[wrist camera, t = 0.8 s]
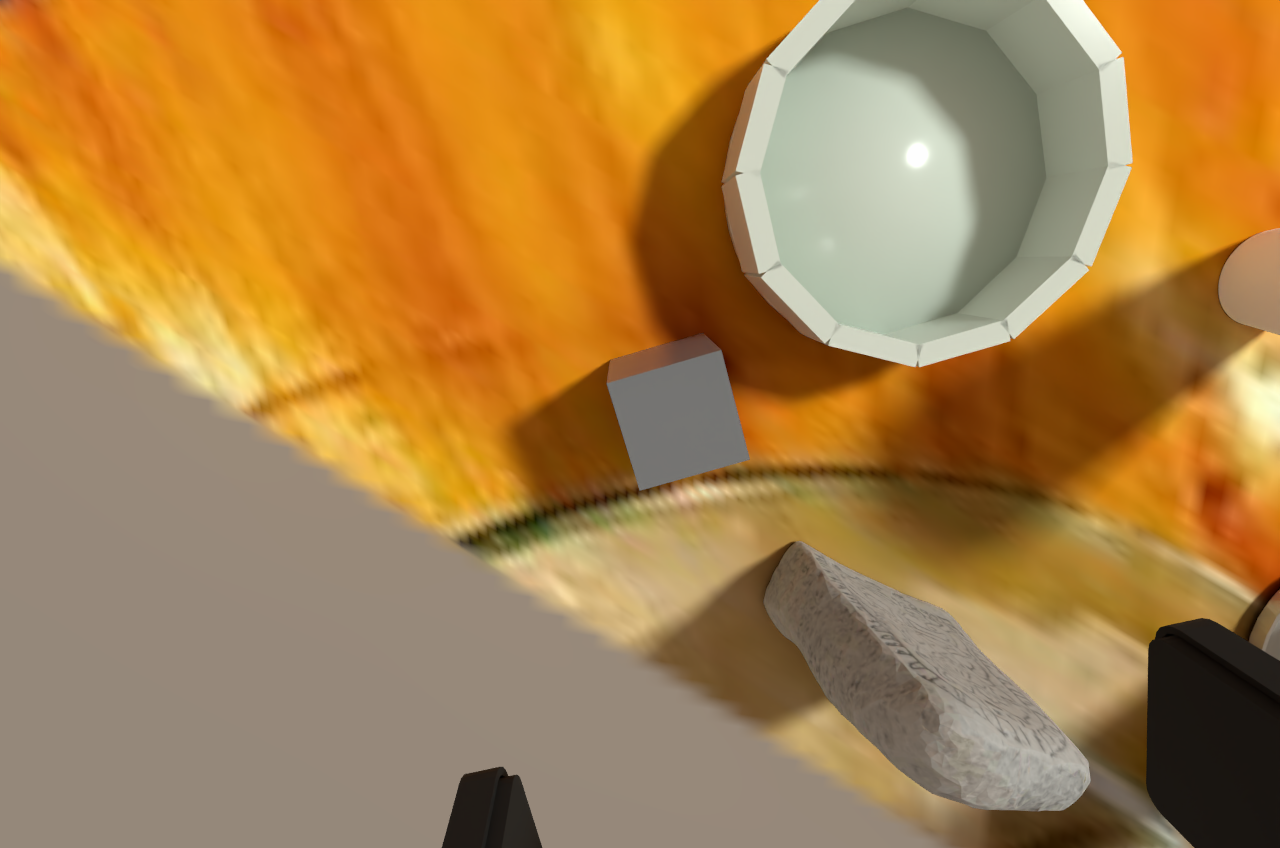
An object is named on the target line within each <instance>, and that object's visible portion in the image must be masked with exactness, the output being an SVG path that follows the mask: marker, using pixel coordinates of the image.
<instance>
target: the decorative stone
mask: <svg viewBox="0 0 1280 848" xmlns="http://www.w3.org/2000/svg"><path fill="white" fill-rule="evenodd" d="M763 603H764V606H765V609H766V611H767V613H768V615H769V617H770V619H771V620H772V622H773V623H774V625H775V626H776V628H777V629H778V630H779V631H780V632H781V633H782V634H783V635H784V637H786V638H788V639H789V640H790V641H792V642H793V643H794V644H796V646H797V647H798V648H799V650H800V651H801V653H802V654H803V656H804V658H805V660H806V662H807V664H808V666H809V668H810V670H811V672H812V673H813V675H814V677H815V678H816V680H817V682H818V683H819V685H820V687H821V689H822V690H823V692H824V694H825V696H826V697H827V698H828V699H829V701H830V702H831V703H832V704H833V705H834V706H835V707H836V708H837V709H838V711H839V712H840V713H841V714H842V715H843V716H844V717H845V718H846V719H847V720H849V721H850V722H851V723H852V724H853V725H854V726H855V727H856V728H857V729H858V731H859V732H860V733H861V734H862V735H863V736H864V737H866V738H867V739H868V740H869V741H870V742H871V743H872V744H873V745H875V746H876V747H877V748H878V749H879V750H880V751H881V752H882V754H883V755H884V756H885V757H886V758H887V759H888V760H889V761H890V762H891V763H892V764H893V765H894V766H896V767H897V768H898V769H899V770H900V771H901V772H903V773H904V774H905V775H907V776H908V777H909V778H911V779H912V780H913V781H915V782H916V783H917V784H919V785H920V786H922V787H923V788H925V789H926V790H928V791H929V792H931V793H932V794H935V795H938V796H941V797H944V798H947V799H950V800H953V801H957V802H960V803H963V804H966V805H968V806H970V807H972V808H977V809H984V810H1021V811H1044V810H1047V811H1061V810H1064V809H1066V808H1068V807H1069V806H1070V805H1072V804H1073V803H1074V802H1076V801H1077V799H1078V798H1079V797H1080V796H1081V795H1082V794H1083V792H1084V791H1085V790H1086V788H1087V787H1088V785H1089V783H1090V782H1091V780H1090V771H1089V762H1088V760H1087V759H1086V758H1085V757H1084V755H1083V754H1082V753H1081V752H1080V750H1079V749H1078V748H1077V747H1076V746H1075V745H1074V744H1073V742H1072V741H1071V740H1070V739H1069V738H1068V737H1067V736H1066V735H1065V734H1064V733H1063V731H1062V730H1061V729H1060V728H1059V727H1058V726H1057V725H1056V724H1055V723H1054V722H1053V721H1052V720H1051V719H1050V717H1049V716H1048V715H1047V714H1046V713H1045V712H1044V711H1043V710H1042V709H1041V708H1040V707H1039V706H1038V705H1037V704H1036V703H1035V701H1033V699H1032V698H1031V697H1030V696H1029V695H1028V694H1027V693H1025V692H1024V691H1023V690H1022V689H1021V688H1020V687H1019V686H1018V685H1017V684H1015V683H1014V682H1013V681H1012V680H1011V679H1010V678H1009V677H1008V676H1007V675H1006V674H1004V673H1003V672H1002V671H1001V670H1000V669H999V668H997V667H996V666H995V665H994V664H993V662H992V661H991V660H990V659H989V658H987V657H986V656H985V655H984V654H983V653H982V652H981V651H980V650H979V649H978V648H977V646H976V645H975V644H974V642H973V641H972V640H971V638H970V637H969V636H968V635H967V634H966V633H965V631H964V630H963V629H962V627H961V626H960V624H959V623H958V622H957V621H956V620H955V619H954V618H953V617H952V616H951V615H950V614H949V613H948V612H946V611H945V610H943V609H942V608H939V607H937V606H935V605H932V604H930V603H927V602H925V601H922V600H918V599H916V598H913V597H911V596H908V595H905V594H902V593H900V592H899V591H897V590H895V589H893V588H890V587H888V586H886V585H884V584H882V583H879V582H877V581H875V580H873V579H871V578H868V577H866V576H864V575H862V574H860V573H858V572H855V571H853V570H851V569H849V568H847V567H845V566H843V565H841V564H840V563H838V562H836V561H834V560H832V559H831V558H829V557H827V556H825V555H824V554H822V553H820V552H819V551H817V550H815V549H814V548H812V547H810V546H809V545H807V544H805V543H804V542H801V541H797V542H795V543H794V544H793V545H791V546H790V547H789V549H788V550H787V551H786V552H785V554H784V555H783V557H782V559H781V561H780V563H779V565H778V567H777V568H776V569H775V571H774V573H773V575H772V578H771V580H770V583H769V584H768V586H767V589H766V592H765V596H764V600H763Z"/></svg>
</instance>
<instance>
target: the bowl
mask: <svg viewBox="0 0 1280 848" xmlns="http://www.w3.org/2000/svg"><path fill="white" fill-rule="evenodd" d="M1121 53H1122V52H1121V51H1120V49H1119V48H1118V47H1117V45H1116V44H1115V43H1114V41H1113V40H1112V39H1111V37H1110V36H1109V35H1108V33H1107V32H1106V31H1105V29H1104V28H1103V27H1102V25H1101V24H1100V23H1099V21H1098V20H1097V19H1096V17H1095V16H1094V15H1093V13H1092V12H1091V11H1090V9H1089V8H1088V7H1087V5H1086V4H1085V2H1084V1H1083V0H819V1H818V2H817V4H816V5H815V6H814V7H813V8H812V9H811V10H810V11H809V12H808V14H807V15H806V16H805V17H804V18H803V19H802V20H801V21H800V22H799V23H798V25H797V26H796V27H795V28H794V29H793V30H792V31H791V32H790V33H789V34H788V36H787V37H786V38H785V39H784V40H783V41H782V42H781V43H780V44H779V45H778V47H777V48H776V49H775V50H774V51H773V52H772V53H771V54H770V55H769V57H768V58H767V59H766V60H765V62H764V63H763V64H762V66H761V67H760V69H759V70H758V71H757V73H756V74H755V76H754V77H753V79H752V80H751V81H750V83H749V84H748V87H747V88H746V89H745V93H744V97H743V101H742V105H741V109H740V112H739V115H738V117H737V120H736V123H735V126H734V129H733V132H732V135H731V138H730V142H729V147H728V152H727V157H726V162H725V170H724V174H723V178H722V183H724V185H723V186H721V187H722V191H723V196H724V205H725V213H726V219H727V225H728V230H729V234H730V237H731V240H732V243H733V247H734V250H735V252H736V255H737V257H738V259H739V261H740V265H741V270H742V272H745V273H746V274H745V275H744V276H745V277H746V278H747V279H748V280H749V281H750V282H751V283H752V284H753V286H754V287H755V289H756V290H757V291H758V292H759V293H760V294H761V296H762V297H763V298H764V299H765V300H766V301H767V303H768V304H769V305H770V306H772V307H773V308H774V309H775V310H776V311H777V312H778V313H779V314H781V315H782V316H783V317H784V318H786V319H787V320H788V321H789V322H790V323H791V324H792V325H793V326H794V327H795V328H796V329H797V330H798V331H799V332H800V333H801V334H803V335H804V336H807V337H809V338H811V339H814V340H816V341H818V342H821V343H823V344H826V345H828V346H832V347H836V348H840V349H844V350H848V351H852V352H856V353H860V354H864V355H868V356H872V357H876V358H880V359H884V360H888V361H892V362H896V363H900V364H904V365H908V366H912V367H916V366H918V367H922V366H925V365H929V364H932V363H936V362H939V361H943V360H946V359H950V358H953V357H957V356H960V355H964V354H967V353H971V352H974V351H978V350H981V349H985V348H988V347H992V346H995V345H999V344H1002V343H1005V342H1009V341H1010V338H1012V339H1015V338H1016V337H1017V336H1018V335H1019V334H1020V333H1021V332H1022V331H1023V330H1024V329H1026V328H1027V327H1028V326H1029V325H1030V324H1031V323H1032V322H1033V321H1034V320H1035V319H1036V318H1037V317H1039V316H1040V315H1041V314H1042V313H1043V312H1044V311H1045V310H1046V309H1047V308H1048V307H1049V306H1051V305H1052V304H1053V303H1054V302H1055V301H1056V300H1057V299H1058V298H1059V297H1060V296H1061V295H1062V294H1064V293H1065V292H1066V291H1067V290H1068V289H1069V288H1070V287H1071V286H1072V285H1073V284H1074V283H1076V282H1077V281H1078V280H1079V279H1080V278H1081V277H1082V276H1083V275H1084V274H1085V273H1086V272H1087V271H1089V269H1088V268H1087V267H1086V266H1092V264H1093V262H1094V259H1095V257H1096V255H1097V252H1098V250H1099V247H1100V245H1101V242H1102V240H1103V237H1104V235H1105V232H1106V230H1107V227H1108V225H1109V223H1110V220H1111V218H1112V215H1113V213H1114V210H1115V208H1116V205H1117V203H1118V200H1119V198H1120V195H1121V193H1122V191H1123V188H1124V186H1125V183H1126V181H1127V178H1128V176H1129V173H1130V171H1131V168H1132V167H1128V166H1125V165H1127V164H1130V163H1133V161H1132V150H1131V138H1130V126H1129V115H1128V103H1127V91H1126V80H1125V68H1124V57H1122V58H1119V59H1116V58H1117V57H1118V56H1119V55H1120V54H1121Z"/></svg>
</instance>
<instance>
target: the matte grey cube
mask: <svg viewBox="0 0 1280 848" xmlns="http://www.w3.org/2000/svg"><path fill="white" fill-rule="evenodd" d="M607 386H608V390H609V393H610V396H611V399H612V403H613V406H614V409H615V412H616V415H617V419H618V422H619V425H620V428H621V432H622V435H623V438H624V441H625V444H626V448H627V451H628V454H629V457H630V461H631V464H632V467H633V470H634V473H635V477H636V480H637V483H638V486H639V490H644V489H647V488H651V487H654V486H658V485H661V484H665V483H668V482H672V481H675V480H679V479H683V478H686V477H690V476H693V475H697V474H700V473H704V472H707V471H711V470H714V469H718V468H721V467H725V466H729V465H732V464H736V463H739V462H743V461H746V460H750V458H749V455H748V451H747V447H746V443H745V439H744V435H743V431H742V428H741V424H740V420H739V416H738V412H737V408H736V404H735V401H734V397H733V393H732V389H731V385H730V381H729V378H728V374H727V370H726V366H725V362H724V358H723V354H722V351H721V349H720V348H719V347H718V346H717V345H716V344H715V343H713V342H712V341H711V340H710V339H709V338H708V337H707V336H706V335H705V334H704V333H700V334H697V335H693V336H690V337H686V338H683V339H680V340H676V341H673V342H669V343H666V344H663V345H659V346H656V347H652V348H649V349H646V350H642V351H639V352H635V353H632V354H629V355H625V356H622V357H618V358H615V359H612V360H610V364H609V371H608V377H607Z"/></svg>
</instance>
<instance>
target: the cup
mask: <svg viewBox="0 0 1280 848" xmlns="http://www.w3.org/2000/svg"><path fill="white" fill-rule="evenodd" d="M1218 293H1219V300H1220V303H1221V305H1222V308H1223V309H1224V311H1225V312H1226V314H1227V315H1228V316H1229V317H1230V318H1232V319H1233V320H1234V321H1236V322H1238V323H1241V324H1244V325H1247V326H1251V327H1254V328H1257V329H1261V330H1264V331H1268V332H1271V333H1274V334H1278V335H1280V228H1278V229H1273V230H1269V231H1264V232H1261V233H1259V234H1256V235H1254V236H1252V237H1250V238H1249V239H1247V240H1246V241H1244V242H1243V243H1242V244H1241V245H1239V246H1238V247H1237V248H1236V249H1235V250H1234V252H1233V253H1232V254H1231V255H1230V257H1229V258H1228V260H1227V261H1226V263H1225V265H1224V267H1223V269H1222V272H1221V275H1220V279H1219V285H1218Z"/></svg>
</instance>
